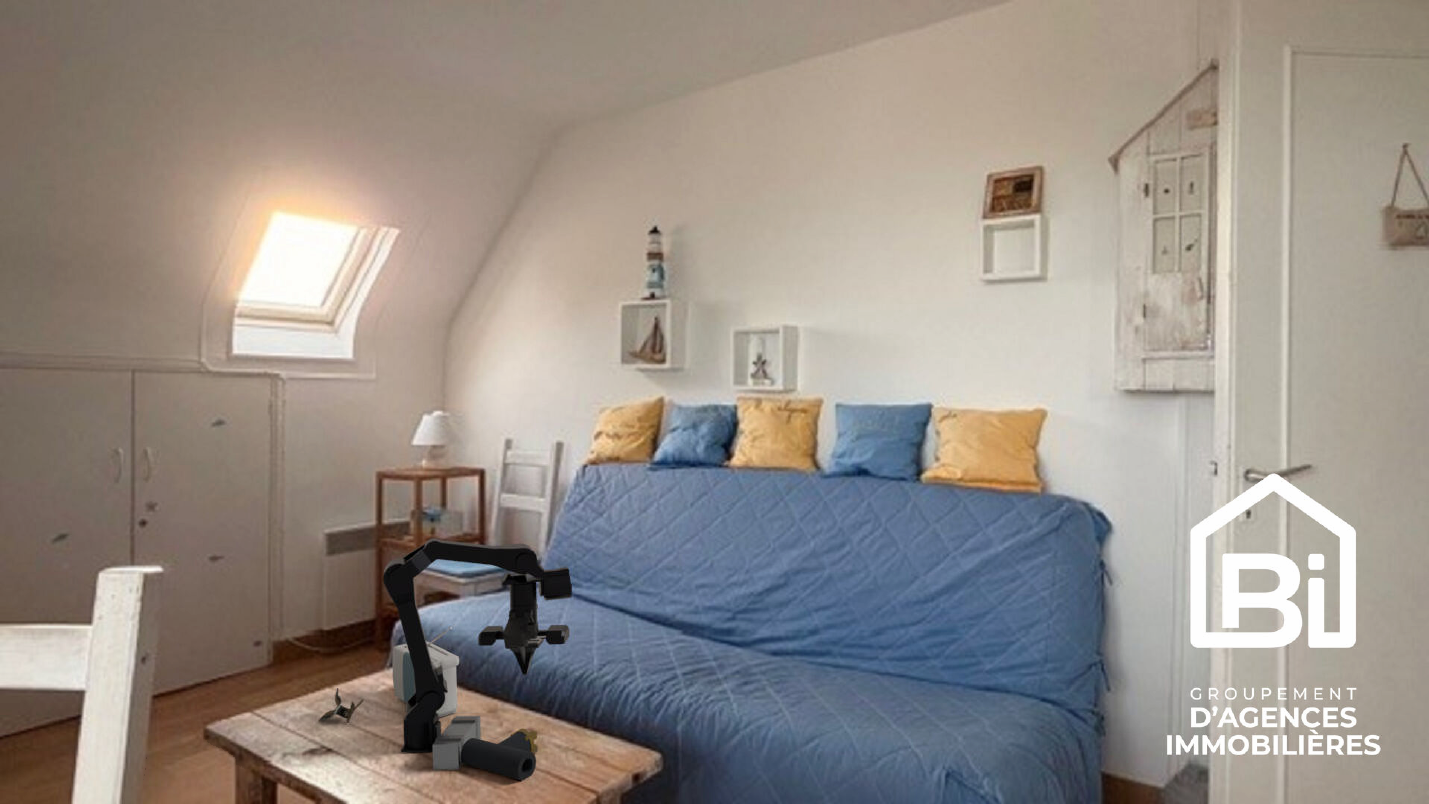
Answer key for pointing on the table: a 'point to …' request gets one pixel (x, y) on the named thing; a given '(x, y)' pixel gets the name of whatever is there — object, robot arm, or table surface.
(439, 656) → the stereo radio cassette player
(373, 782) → the table surface
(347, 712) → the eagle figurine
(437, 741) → the grey stepped block
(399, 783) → the table surface
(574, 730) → the table surface
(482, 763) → the pipe connector
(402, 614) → the robot arm
